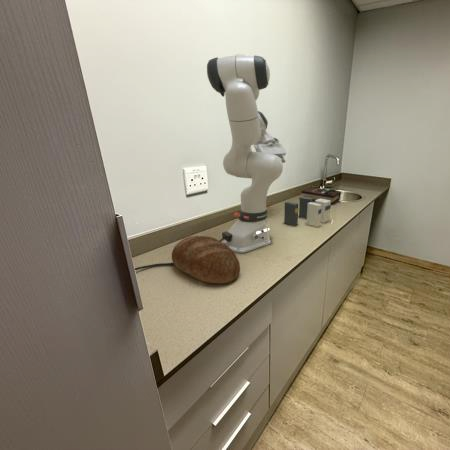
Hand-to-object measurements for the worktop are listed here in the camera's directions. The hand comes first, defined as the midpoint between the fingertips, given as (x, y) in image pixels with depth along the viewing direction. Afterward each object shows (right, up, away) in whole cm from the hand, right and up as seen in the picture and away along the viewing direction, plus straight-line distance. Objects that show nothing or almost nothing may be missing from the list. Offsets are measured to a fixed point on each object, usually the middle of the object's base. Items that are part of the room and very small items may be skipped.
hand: (279, 162), depth 133 cm
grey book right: (+15, -30, +12) cm, 35 cm away
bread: (-22, -50, -46) cm, 72 cm away
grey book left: (+6, -34, +1) cm, 34 cm away
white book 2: (+23, -32, +7) cm, 40 cm away
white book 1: (+19, -34, +1) cm, 39 cm away
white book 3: (+25, -31, +10) cm, 41 cm away
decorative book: (+28, -15, +53) cm, 62 cm away
